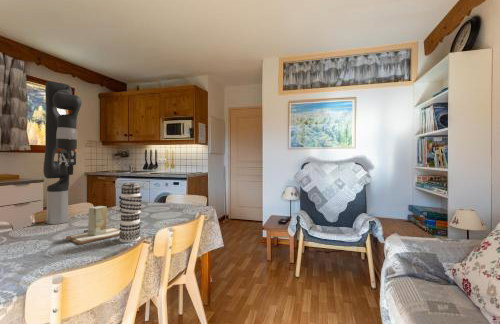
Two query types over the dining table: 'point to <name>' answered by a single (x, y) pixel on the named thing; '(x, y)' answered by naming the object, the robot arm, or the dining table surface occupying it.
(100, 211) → the skincare box
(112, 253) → the dining table surface
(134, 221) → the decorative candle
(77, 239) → the clipboard
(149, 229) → the dining table surface
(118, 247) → the dining table surface
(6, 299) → the dining table surface
